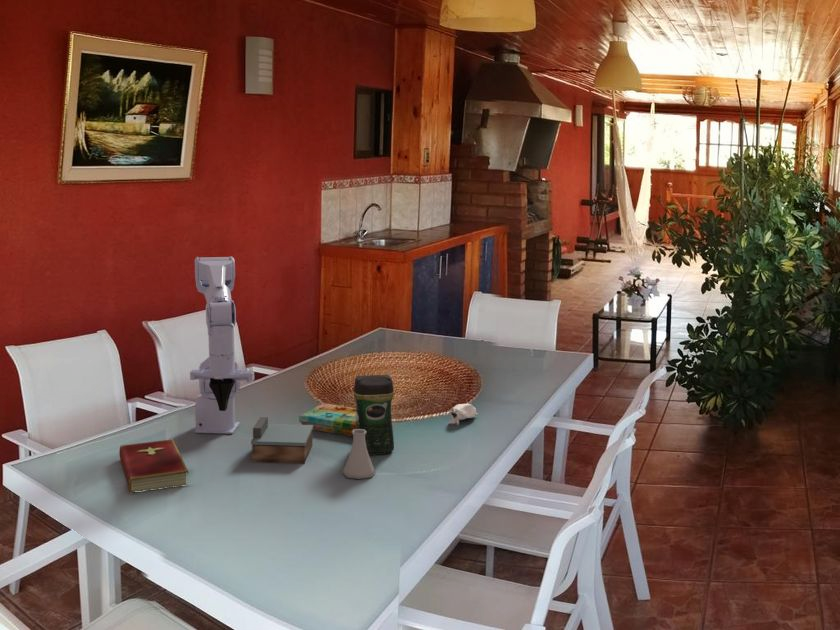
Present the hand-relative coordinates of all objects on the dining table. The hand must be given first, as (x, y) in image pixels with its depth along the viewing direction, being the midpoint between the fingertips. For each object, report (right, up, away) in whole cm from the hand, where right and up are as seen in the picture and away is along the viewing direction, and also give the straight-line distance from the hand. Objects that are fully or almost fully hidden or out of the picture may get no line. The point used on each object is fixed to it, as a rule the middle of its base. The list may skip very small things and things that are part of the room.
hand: (223, 409), depth 201 cm
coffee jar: (+35, -11, +5) cm, 37 cm away
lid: (+14, -6, +1) cm, 15 cm away
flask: (+32, -14, -9) cm, 36 cm away
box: (+14, -11, +2) cm, 17 cm away
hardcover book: (-13, -13, -11) cm, 22 cm away
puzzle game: (+27, -8, +21) cm, 34 cm away
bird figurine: (+57, -6, +29) cm, 65 cm away
